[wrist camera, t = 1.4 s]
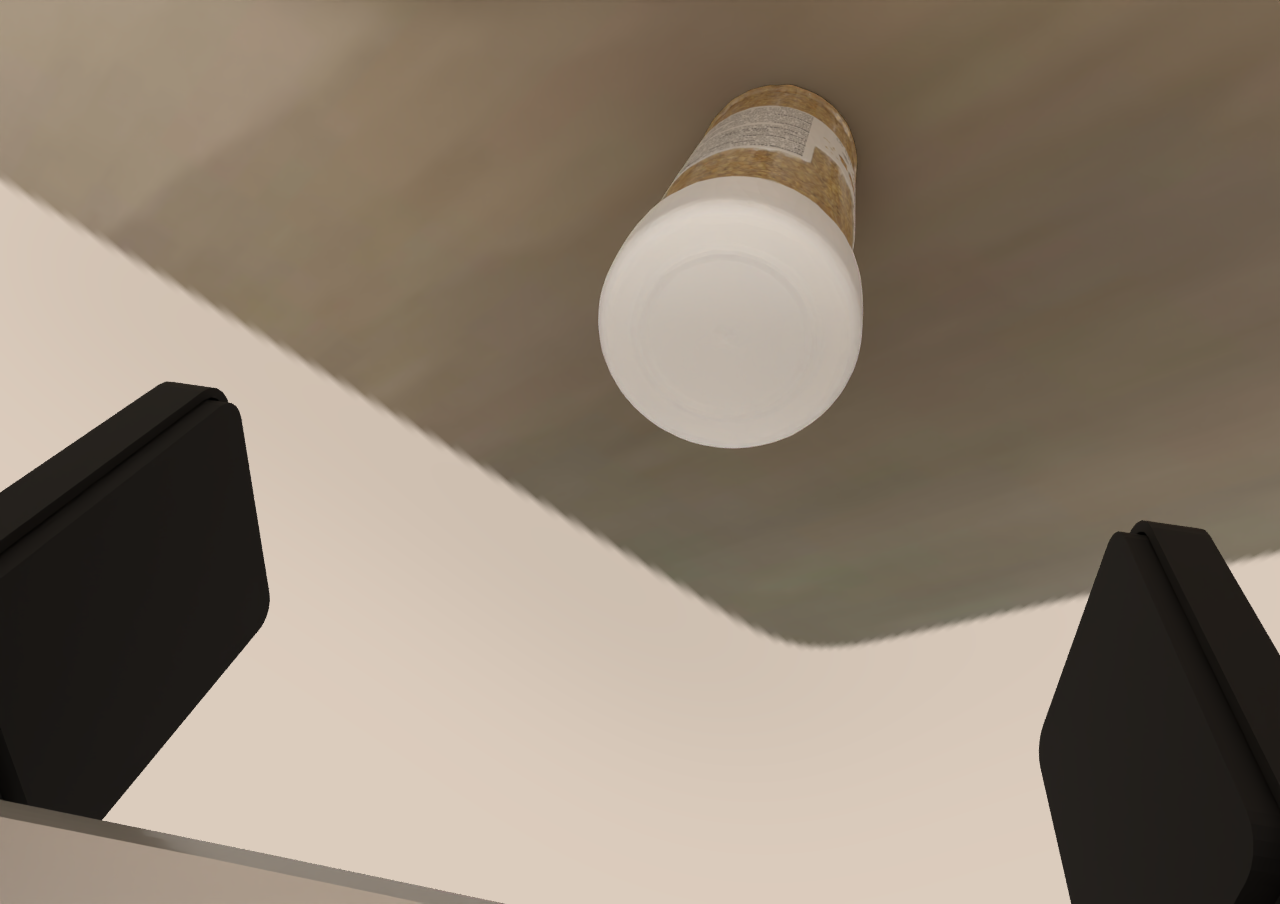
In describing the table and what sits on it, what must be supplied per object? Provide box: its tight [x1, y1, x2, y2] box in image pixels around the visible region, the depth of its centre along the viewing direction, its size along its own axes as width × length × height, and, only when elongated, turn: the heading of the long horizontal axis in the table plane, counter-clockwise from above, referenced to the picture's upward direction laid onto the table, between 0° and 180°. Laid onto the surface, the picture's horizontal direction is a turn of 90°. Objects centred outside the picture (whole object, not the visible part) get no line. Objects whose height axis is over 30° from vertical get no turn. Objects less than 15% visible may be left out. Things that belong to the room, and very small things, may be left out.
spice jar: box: [598, 85, 863, 448], centre depth 22 cm, size 5×5×14 cm
